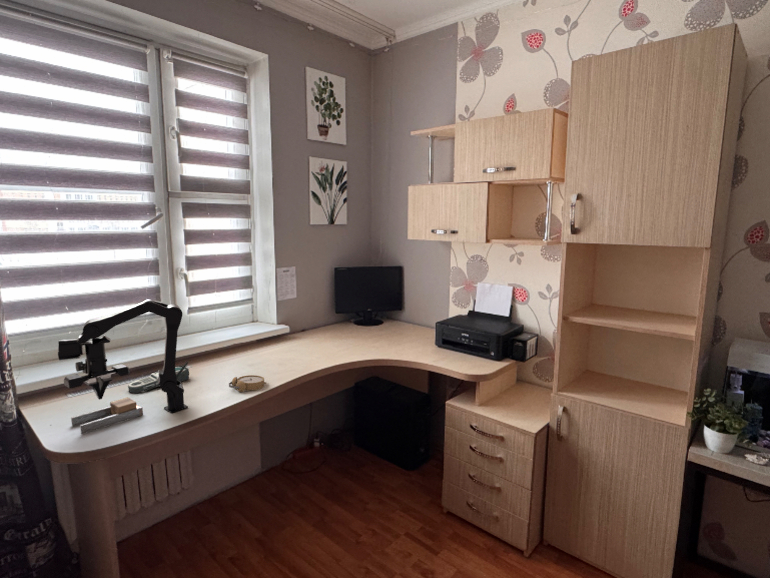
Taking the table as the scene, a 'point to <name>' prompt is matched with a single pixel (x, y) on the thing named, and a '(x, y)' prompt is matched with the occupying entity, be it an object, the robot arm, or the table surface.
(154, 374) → the communication device
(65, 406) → the table surface
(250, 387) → the alarm clock
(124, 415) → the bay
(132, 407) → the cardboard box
